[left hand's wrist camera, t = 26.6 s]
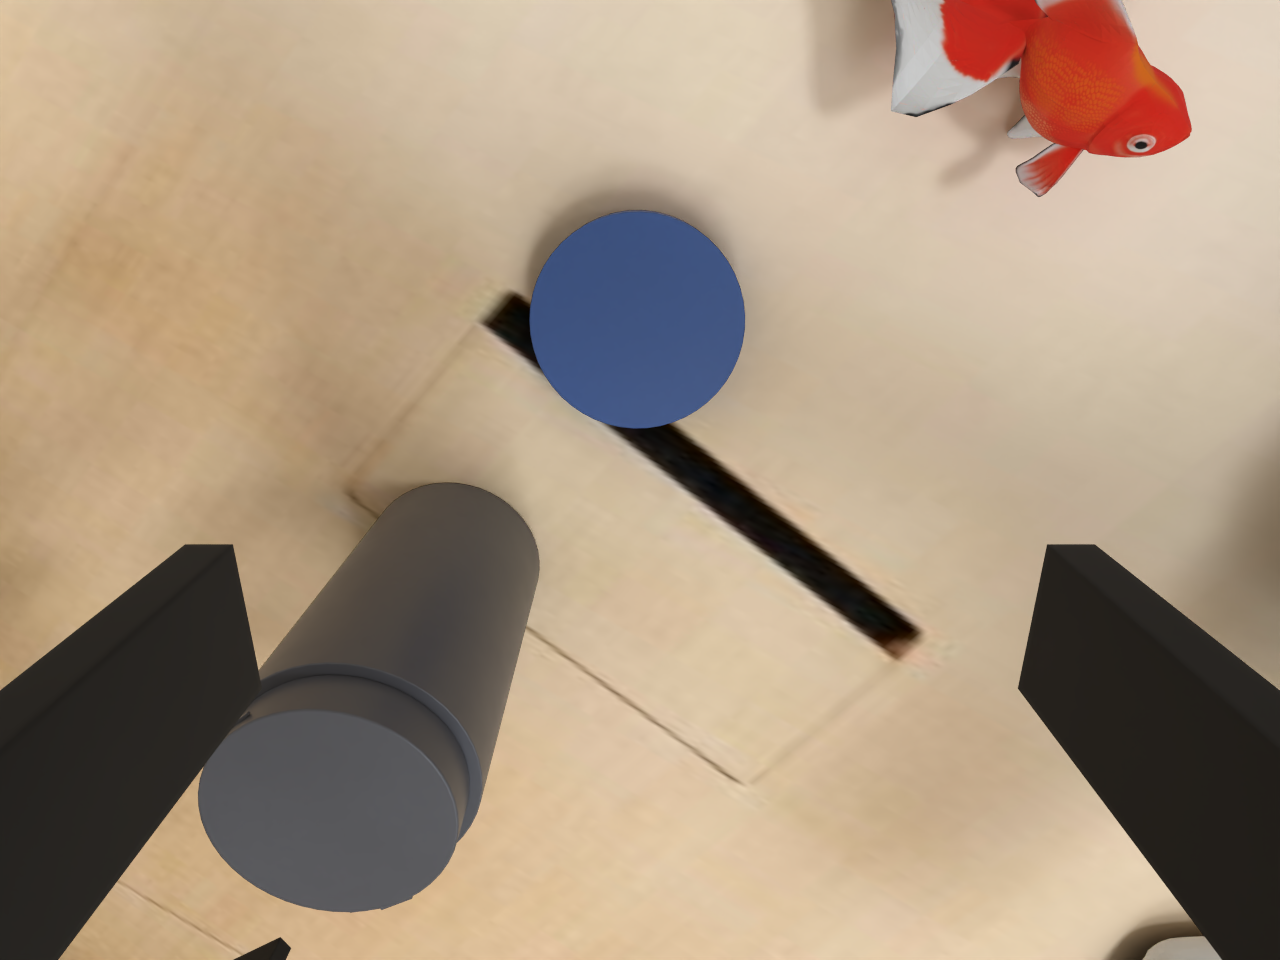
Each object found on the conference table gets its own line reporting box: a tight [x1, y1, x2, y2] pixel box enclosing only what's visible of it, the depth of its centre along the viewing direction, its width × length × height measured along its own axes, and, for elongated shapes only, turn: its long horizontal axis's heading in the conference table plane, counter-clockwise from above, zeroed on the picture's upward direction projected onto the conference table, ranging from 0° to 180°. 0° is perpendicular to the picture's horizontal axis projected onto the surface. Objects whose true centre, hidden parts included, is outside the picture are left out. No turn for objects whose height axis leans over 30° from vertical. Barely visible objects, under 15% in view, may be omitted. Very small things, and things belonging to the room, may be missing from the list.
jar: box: [198, 483, 539, 913], centre depth 37 cm, size 10×10×20 cm
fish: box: [891, 0, 1192, 197], centre depth 33 cm, size 11×16×10 cm
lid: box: [530, 210, 745, 428], centre depth 40 cm, size 11×11×2 cm
